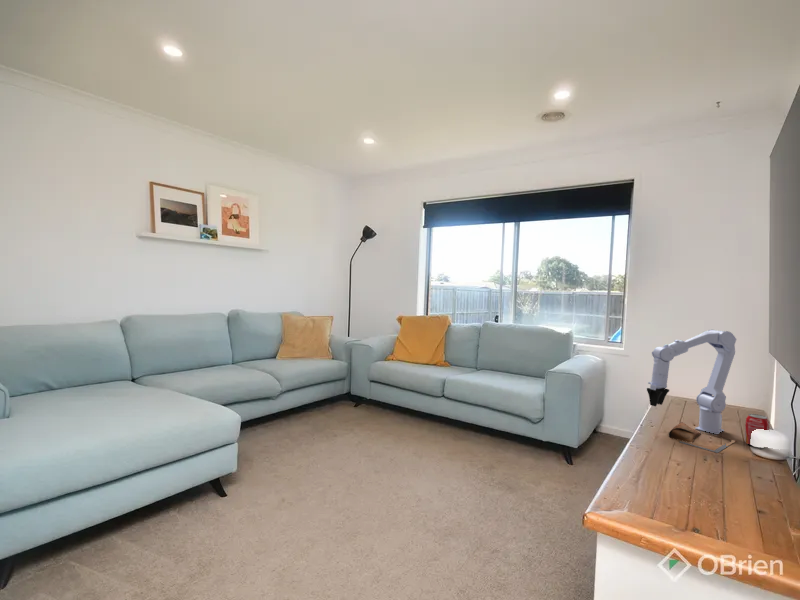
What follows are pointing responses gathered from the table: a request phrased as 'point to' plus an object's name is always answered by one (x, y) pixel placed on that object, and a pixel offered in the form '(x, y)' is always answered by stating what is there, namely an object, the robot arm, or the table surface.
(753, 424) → the soda can
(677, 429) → the sunglasses case
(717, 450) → the taped bay
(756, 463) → the table surface
